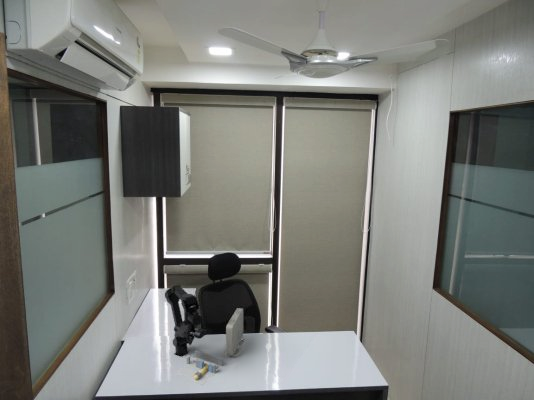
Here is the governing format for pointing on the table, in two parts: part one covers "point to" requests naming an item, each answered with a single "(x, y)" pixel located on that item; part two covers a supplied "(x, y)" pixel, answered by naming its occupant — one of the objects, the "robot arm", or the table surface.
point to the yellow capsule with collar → (201, 373)
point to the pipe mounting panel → (200, 366)
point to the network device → (234, 333)
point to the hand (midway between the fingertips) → (190, 344)
